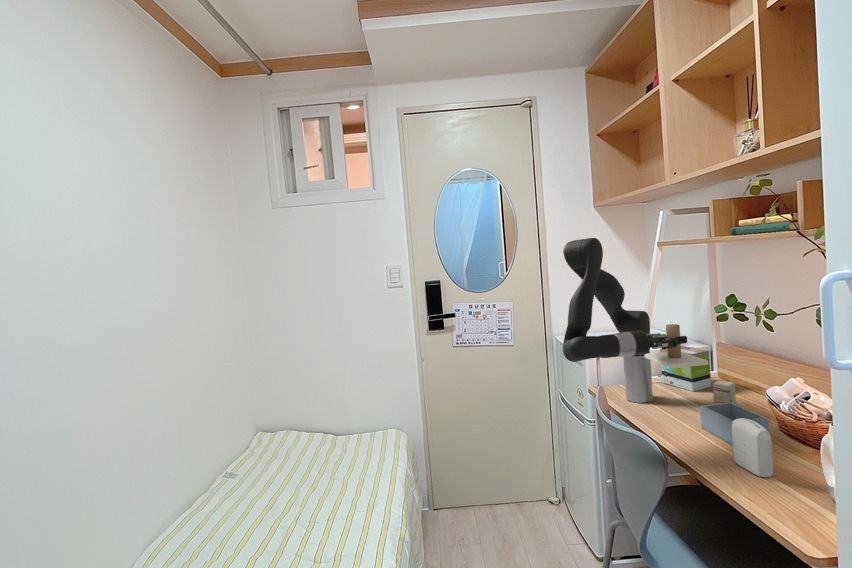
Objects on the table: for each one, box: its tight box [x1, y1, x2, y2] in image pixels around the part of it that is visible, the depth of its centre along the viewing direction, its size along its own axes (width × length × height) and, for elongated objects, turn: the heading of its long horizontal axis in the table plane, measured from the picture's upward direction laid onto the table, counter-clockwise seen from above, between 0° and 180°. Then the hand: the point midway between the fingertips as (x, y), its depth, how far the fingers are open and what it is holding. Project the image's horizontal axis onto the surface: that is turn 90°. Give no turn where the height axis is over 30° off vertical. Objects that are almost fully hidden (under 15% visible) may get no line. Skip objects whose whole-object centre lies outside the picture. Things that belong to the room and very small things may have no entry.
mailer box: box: [699, 402, 770, 447], centre depth 145 cm, size 15×10×7 cm, turn 3°
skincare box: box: [712, 379, 737, 404], centre depth 163 cm, size 5×4×10 cm
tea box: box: [659, 344, 712, 392], centre depth 195 cm, size 15×10×15 cm, turn 21°
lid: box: [644, 323, 708, 368], centre depth 153 cm, size 16×11×11 cm
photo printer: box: [732, 418, 774, 478], centre depth 124 cm, size 10×4×12 cm, turn 3°
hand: (681, 338), depth 154 cm, fingers closed on lid, 3 cm apart
